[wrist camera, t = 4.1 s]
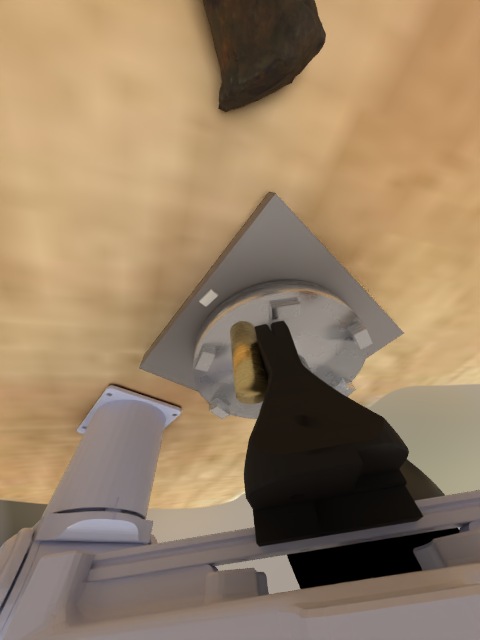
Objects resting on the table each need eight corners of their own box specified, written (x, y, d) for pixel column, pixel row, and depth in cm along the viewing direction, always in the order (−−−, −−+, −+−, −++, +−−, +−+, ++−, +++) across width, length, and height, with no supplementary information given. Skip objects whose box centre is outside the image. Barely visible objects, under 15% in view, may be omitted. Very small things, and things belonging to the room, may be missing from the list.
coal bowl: (329, 471, 40) (400, 656, 25) (238, 462, 33) (257, 706, 18) (418, 418, 30) (624, 665, 15) (315, 390, 24) (494, 779, 8)
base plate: (270, 408, 25) (273, 422, 24) (144, 355, 18) (138, 370, 17) (391, 322, 19) (405, 334, 17) (269, 191, 12) (276, 193, 11)
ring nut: (371, 357, 19) (433, 430, 13) (253, 414, 22) (264, 489, 17) (314, 237, 12) (394, 287, 7) (158, 346, 15) (128, 435, 10)
